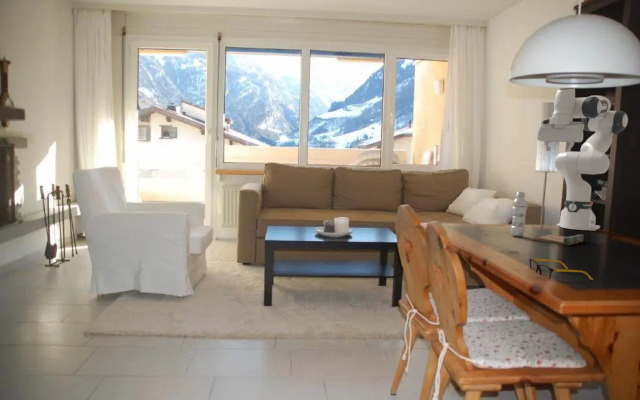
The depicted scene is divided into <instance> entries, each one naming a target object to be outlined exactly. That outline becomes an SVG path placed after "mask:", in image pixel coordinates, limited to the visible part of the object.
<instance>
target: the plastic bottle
mask: <svg viewBox="0 0 640 400" xmlns="http://www.w3.org/2000/svg"><path fill="white" fill-rule="evenodd" d="M525 197H526V192H523V191H517V192H516V194H515V198H514V200H513V202H512V205H511V206H512V221H511V226H510V229H509V232H510V235H511V236H514V237H517V238H519V237H524V236H525V235H526V215H527V208H528V202H527V200H526V199H525Z"/></svg>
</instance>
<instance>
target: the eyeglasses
mask: <svg viewBox="0 0 640 400" xmlns="http://www.w3.org/2000/svg"><path fill="white" fill-rule="evenodd" d="M532 262H534V263H535V265H536V270H535V273H538V272H539V275H540V276H542V275H543V274H542V273H543V270H542V268H541V266H543V267H545V268H547V269H548V271H549V277H548V279H551V277H552V272H553V273H555V272H557V273H559V272H561V273H562V272H563V273H564V272H565V273H567V272H568V273H583V274H585V275H587V277H588V278H589V280H590V281H594V279H593V277H591V275H589V274H588V273H587V272H586V271H584V270H576V269H569V268H568V266H567V265H566V264H565V263H564V262H562V261H561V260H556V259H543V258H530V257H529V267H530V270H533V268H532ZM538 262H554V263H555V262H556V263H557V262H558V263H559V264H561V265H562V266H563V267H564V269H563V268H552V267H549V266H547V265H545V264H539V263H538Z"/></svg>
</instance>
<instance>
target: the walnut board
mask: <svg viewBox="0 0 640 400" xmlns="http://www.w3.org/2000/svg"><path fill="white" fill-rule="evenodd" d="M584 237H585V235H584V234H581V233H580V234H576V235H570V236H563V235H557V234H547V235H542V236H538V237H534V241H539V242H544V243H550V244H557V245H563V246H570V245H575V244H579V242H580V243H583V242H584Z"/></svg>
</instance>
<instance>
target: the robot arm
mask: <svg viewBox="0 0 640 400" xmlns="http://www.w3.org/2000/svg"><path fill="white" fill-rule="evenodd" d="M611 105H612V104H611V101H610V99H608V98H607V97H605V96H603V95H590V96H587V97H584V96H583V97H576V89H575V88H574V87H562V88H561V87H560V88H559V89H557V90H556V92H555V96H554V101H553V112H552V116H551V117H548V118H546V119H542V120H541V121H540V125H541V126H539V129H538V132H537V136H536V137H537V141H539V142H544V146H545V151H546V152H551V149H552V147H551V146H550V145H549V144H550V142H554V143H555V142H556V143H557V142H559V143H561V142H562V143H564V142H565V143H568V144H569V145H568V146H566V147H565V151H563V152H559V153H558V154H557V155H556V156H555V158H554V166H555V168H556V170H557V171H558V172H560V174H561V175H562V177H563V178H564V180H565V181H564V182H565V184H566V185H565V186H566V194H565V195H566V197H565V200H564V208H563V209H562V210H561V212H560V218H559V222H558V223H556V226H558V227H560V228H563V229H564V228H565V229H569V230H579V231H591V232H592V231H593V232H594V231H597V230H599V229H600V228H601V225H597V224H596V215H595V213H594V211H593V210H592V206H593V204H594V202H593V201H591V195H592V185H591V184H590V183H588V182H587V181H586V180H584V179H583V178H582V175H600V174H605V173H606V172H607V171H608V170H609V168H610V166H611V165H610V163H611V160H610V158H609V156H608V155H607V154H606V152H608V151H609V148H610V147H611V145H612V142H613V136H614V135H615V136H618V135H619V134H620V133H621V132H622V131H624V130H625V129H626V127H627V125H628V122H629V118H628V114H627V113H626V112H625V111H623V110H617V111H616V110H611V107H612V106H611ZM573 119H581V121H573ZM584 131H585V132H594V133H593V134H592V135H591V136H590V137H588V138H587V139H586V141H585V142H584V143H583V144H581V147H580V150H579V151H572V150H571V149H572V148H573V146H574V145H575V143H582V142H583V140H584Z"/></svg>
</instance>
